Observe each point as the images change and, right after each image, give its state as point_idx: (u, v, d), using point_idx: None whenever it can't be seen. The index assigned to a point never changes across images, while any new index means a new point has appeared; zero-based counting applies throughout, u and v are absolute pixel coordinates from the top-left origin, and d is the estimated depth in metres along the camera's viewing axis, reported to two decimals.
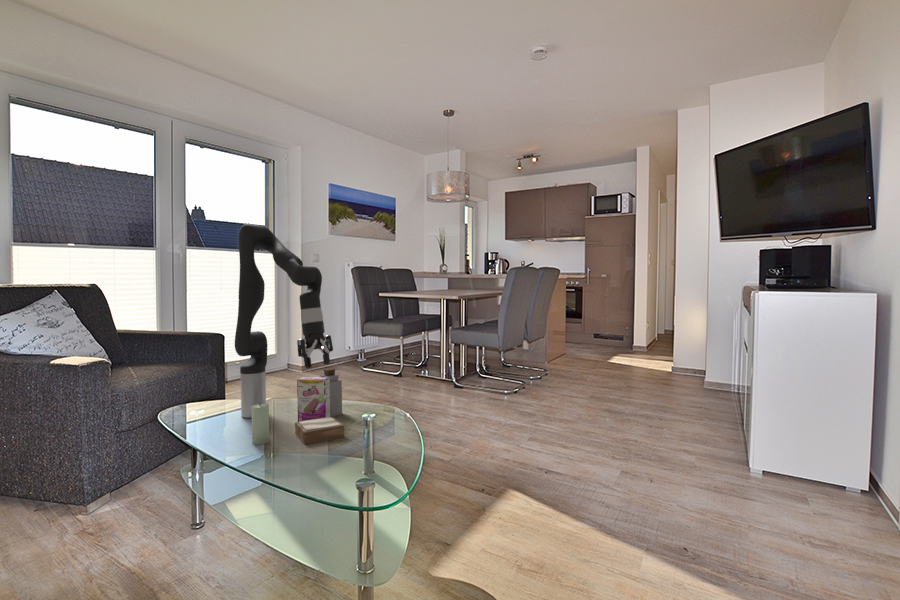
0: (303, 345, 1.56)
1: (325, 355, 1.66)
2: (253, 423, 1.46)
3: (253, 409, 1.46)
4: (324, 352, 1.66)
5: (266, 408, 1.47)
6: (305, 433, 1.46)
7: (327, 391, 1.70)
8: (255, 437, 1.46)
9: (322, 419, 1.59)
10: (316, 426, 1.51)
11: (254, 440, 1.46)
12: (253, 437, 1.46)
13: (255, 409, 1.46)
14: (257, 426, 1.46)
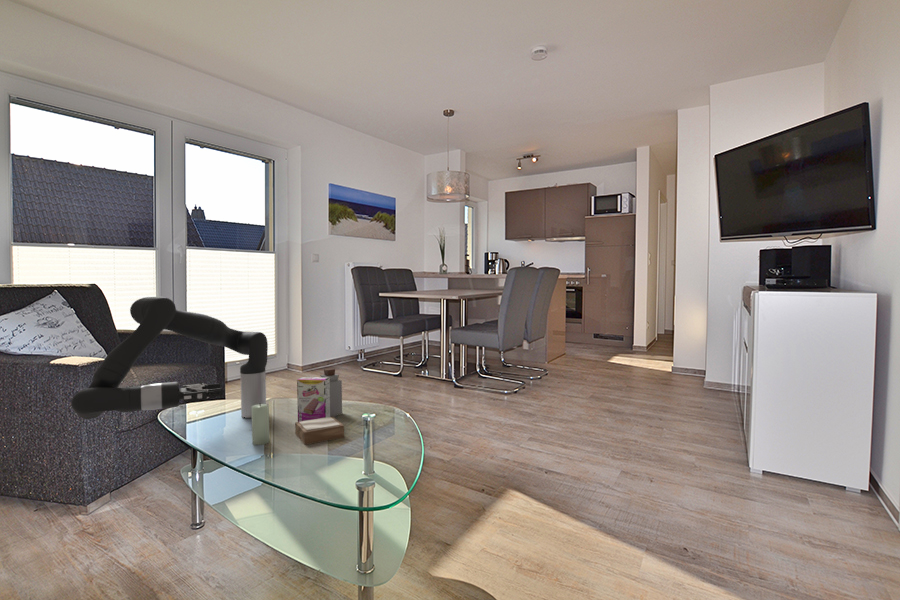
0: None
1: None
2: (253, 423, 1.46)
3: (253, 409, 1.46)
4: None
5: (266, 408, 1.47)
6: (305, 433, 1.46)
7: (327, 391, 1.70)
8: (255, 437, 1.46)
9: (322, 419, 1.59)
10: (316, 426, 1.51)
11: (254, 440, 1.46)
12: (253, 437, 1.46)
13: (255, 409, 1.46)
14: (257, 426, 1.46)
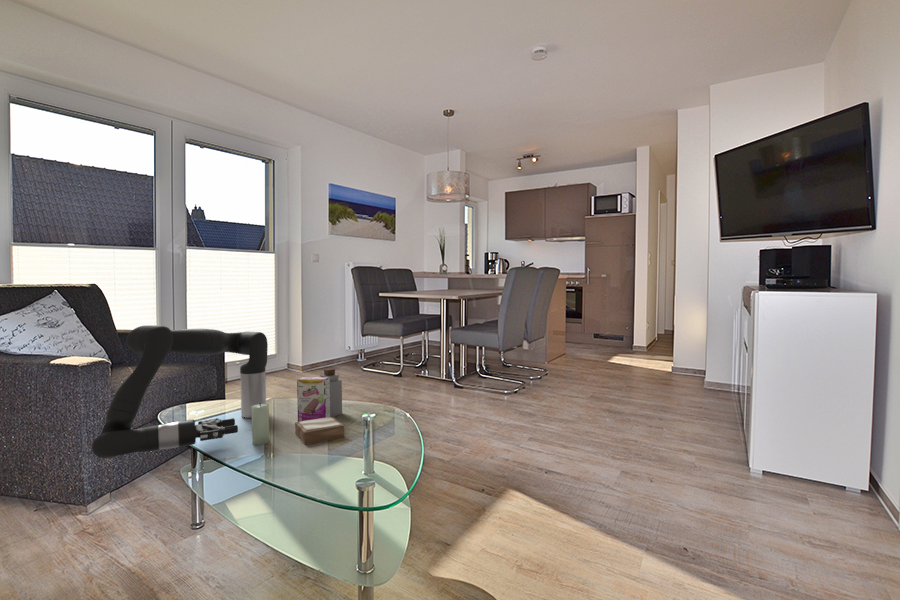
0: None
1: None
2: (253, 423, 1.46)
3: (253, 409, 1.46)
4: None
5: (266, 408, 1.47)
6: (305, 433, 1.46)
7: (327, 391, 1.70)
8: (255, 437, 1.46)
9: (322, 419, 1.59)
10: (316, 426, 1.51)
11: (254, 440, 1.46)
12: (253, 437, 1.46)
13: (255, 409, 1.46)
14: (257, 426, 1.46)
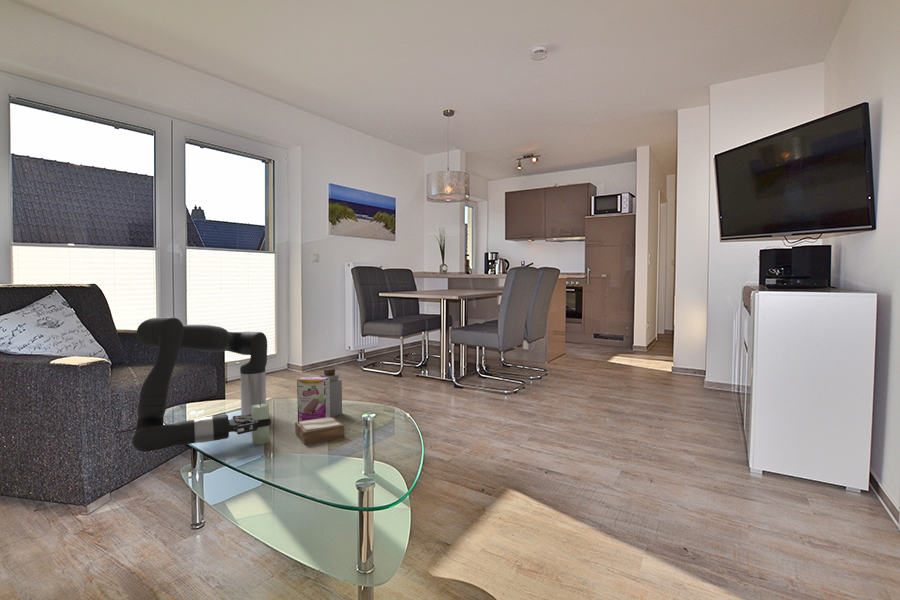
0: None
1: None
2: None
3: (253, 409, 1.46)
4: None
5: (266, 408, 1.47)
6: (305, 433, 1.46)
7: (327, 391, 1.70)
8: (255, 437, 1.46)
9: (322, 419, 1.59)
10: (316, 426, 1.51)
11: (254, 440, 1.46)
12: (253, 437, 1.47)
13: (255, 409, 1.46)
14: None
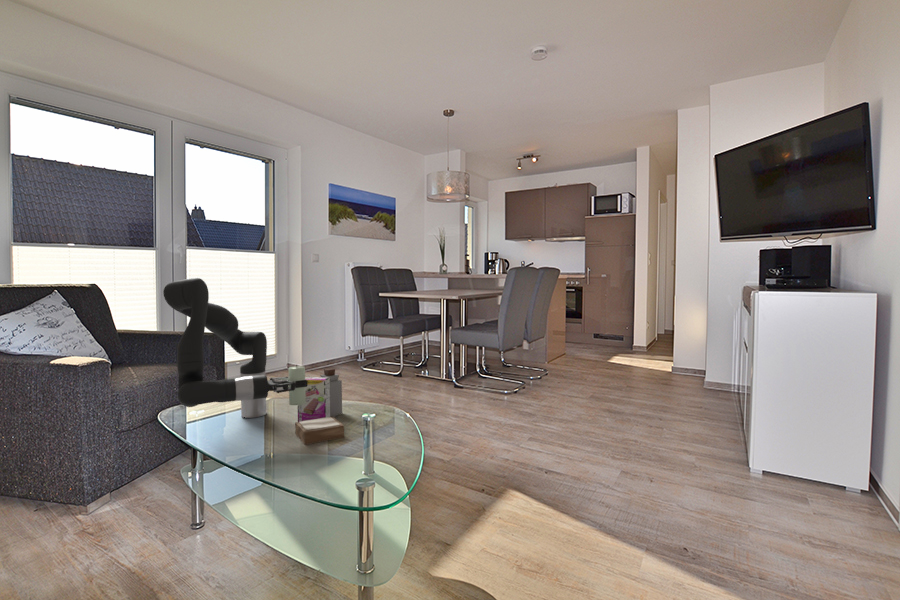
0: None
1: None
2: None
3: (290, 370, 1.49)
4: None
5: (303, 369, 1.50)
6: (305, 433, 1.46)
7: (327, 391, 1.70)
8: (292, 397, 1.49)
9: (322, 419, 1.59)
10: (316, 426, 1.51)
11: (291, 400, 1.49)
12: (290, 398, 1.50)
13: (292, 370, 1.49)
14: None
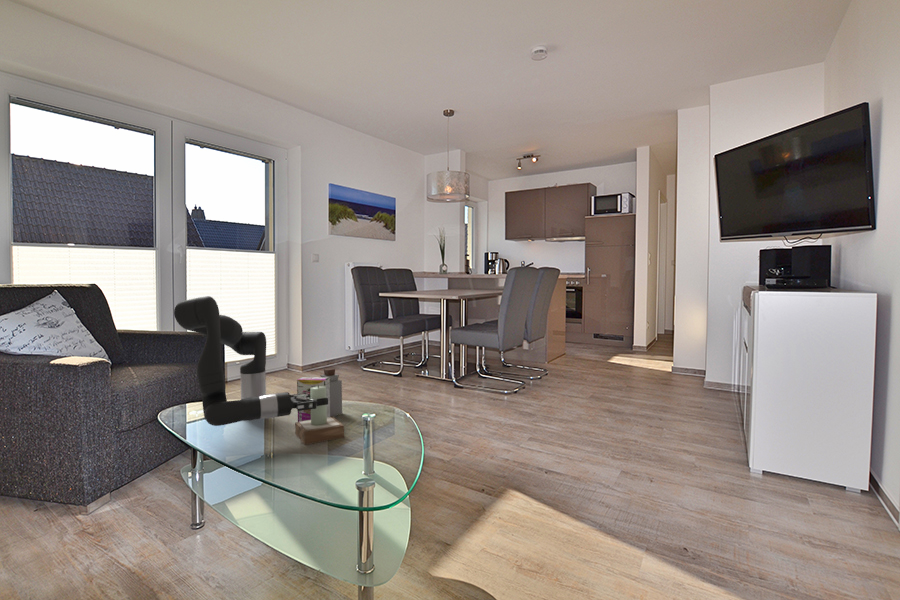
0: None
1: None
2: (312, 404, 1.52)
3: (312, 390, 1.52)
4: None
5: (324, 390, 1.53)
6: (305, 433, 1.46)
7: (327, 391, 1.70)
8: (314, 417, 1.52)
9: None
10: (316, 426, 1.51)
11: (313, 420, 1.52)
12: (312, 417, 1.52)
13: (314, 390, 1.52)
14: None
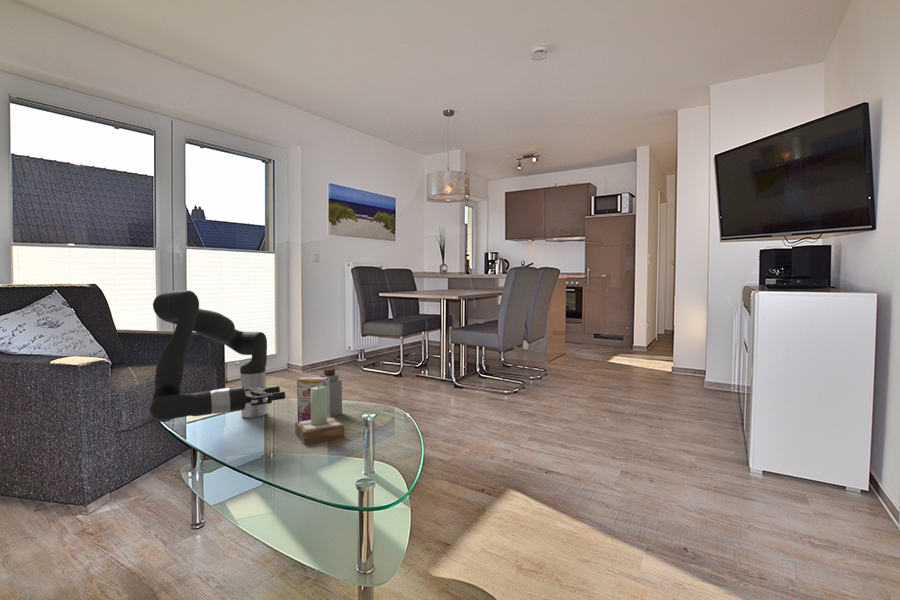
0: None
1: None
2: (312, 404, 1.52)
3: (313, 391, 1.52)
4: None
5: (325, 390, 1.53)
6: (305, 433, 1.46)
7: (327, 391, 1.70)
8: (314, 417, 1.52)
9: None
10: (316, 426, 1.51)
11: (313, 420, 1.52)
12: (312, 418, 1.52)
13: (314, 390, 1.51)
14: (316, 407, 1.52)
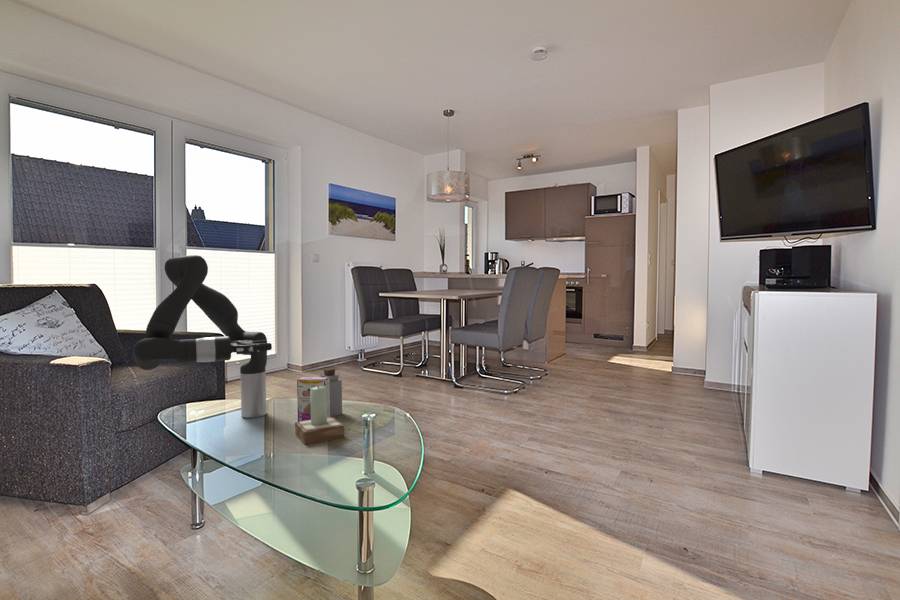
0: None
1: None
2: (312, 404, 1.52)
3: (312, 391, 1.52)
4: None
5: (324, 390, 1.53)
6: (305, 433, 1.46)
7: (327, 391, 1.70)
8: (314, 417, 1.52)
9: None
10: (316, 426, 1.51)
11: (313, 421, 1.52)
12: (312, 418, 1.52)
13: (314, 391, 1.51)
14: (316, 407, 1.51)
